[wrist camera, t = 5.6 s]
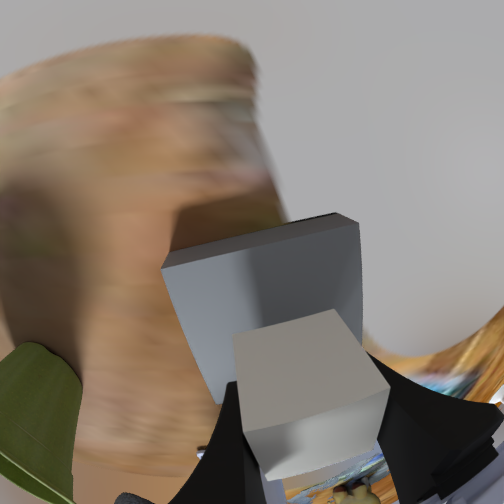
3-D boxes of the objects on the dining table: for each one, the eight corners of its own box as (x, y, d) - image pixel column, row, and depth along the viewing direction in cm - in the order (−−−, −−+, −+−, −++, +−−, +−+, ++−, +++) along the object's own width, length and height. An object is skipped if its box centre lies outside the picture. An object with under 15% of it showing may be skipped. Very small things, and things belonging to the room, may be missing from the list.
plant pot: (-9, 349, 16) (-60, 420, 5) (26, 290, 14) (-64, 385, 4) (72, 426, 19) (47, 507, 9) (134, 396, 18) (109, 517, 8)
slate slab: (344, 341, 19) (360, 366, 16) (215, 375, 19) (216, 404, 16) (335, 212, 16) (358, 222, 13) (170, 249, 15) (160, 269, 13)
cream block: (336, 377, 13) (373, 449, 8) (252, 399, 13) (267, 481, 8) (334, 308, 11) (390, 386, 7) (232, 334, 11) (243, 431, 6)
